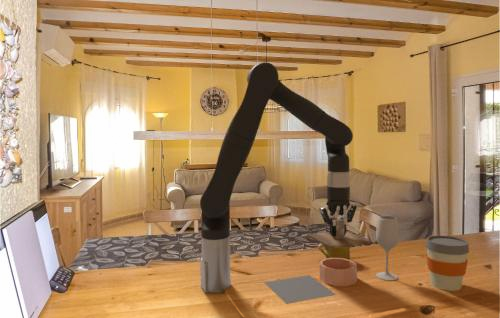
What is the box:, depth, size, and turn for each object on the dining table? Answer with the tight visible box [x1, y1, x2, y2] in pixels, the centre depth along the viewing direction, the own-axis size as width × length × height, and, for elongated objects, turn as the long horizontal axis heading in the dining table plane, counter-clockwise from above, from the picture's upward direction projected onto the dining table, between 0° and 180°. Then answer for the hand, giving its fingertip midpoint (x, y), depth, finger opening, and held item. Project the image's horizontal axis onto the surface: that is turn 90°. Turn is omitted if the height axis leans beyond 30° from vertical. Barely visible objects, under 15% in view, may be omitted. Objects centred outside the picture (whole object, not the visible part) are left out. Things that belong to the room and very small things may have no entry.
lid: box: [307, 218, 371, 249], centre depth 128 cm, size 15×15×7 cm
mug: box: [317, 243, 351, 260], centre depth 150 cm, size 12×10×10 cm
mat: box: [263, 274, 337, 305], centre depth 122 cm, size 17×17×1 cm
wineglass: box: [375, 215, 400, 282], centre depth 132 cm, size 8×8×21 cm
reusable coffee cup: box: [425, 234, 470, 292], centre depth 125 cm, size 13×13×15 cm
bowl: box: [319, 257, 358, 287], centre depth 129 cm, size 12×12×6 cm
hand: (338, 235), depth 128 cm, fingers closed on lid, 3 cm apart
